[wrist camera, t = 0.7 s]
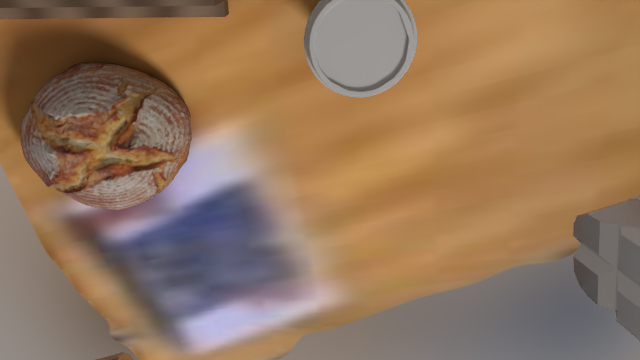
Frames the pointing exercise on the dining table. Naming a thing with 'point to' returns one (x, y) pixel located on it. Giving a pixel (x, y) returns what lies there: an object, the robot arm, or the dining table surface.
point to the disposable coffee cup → (360, 44)
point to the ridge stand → (111, 8)
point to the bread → (106, 135)
